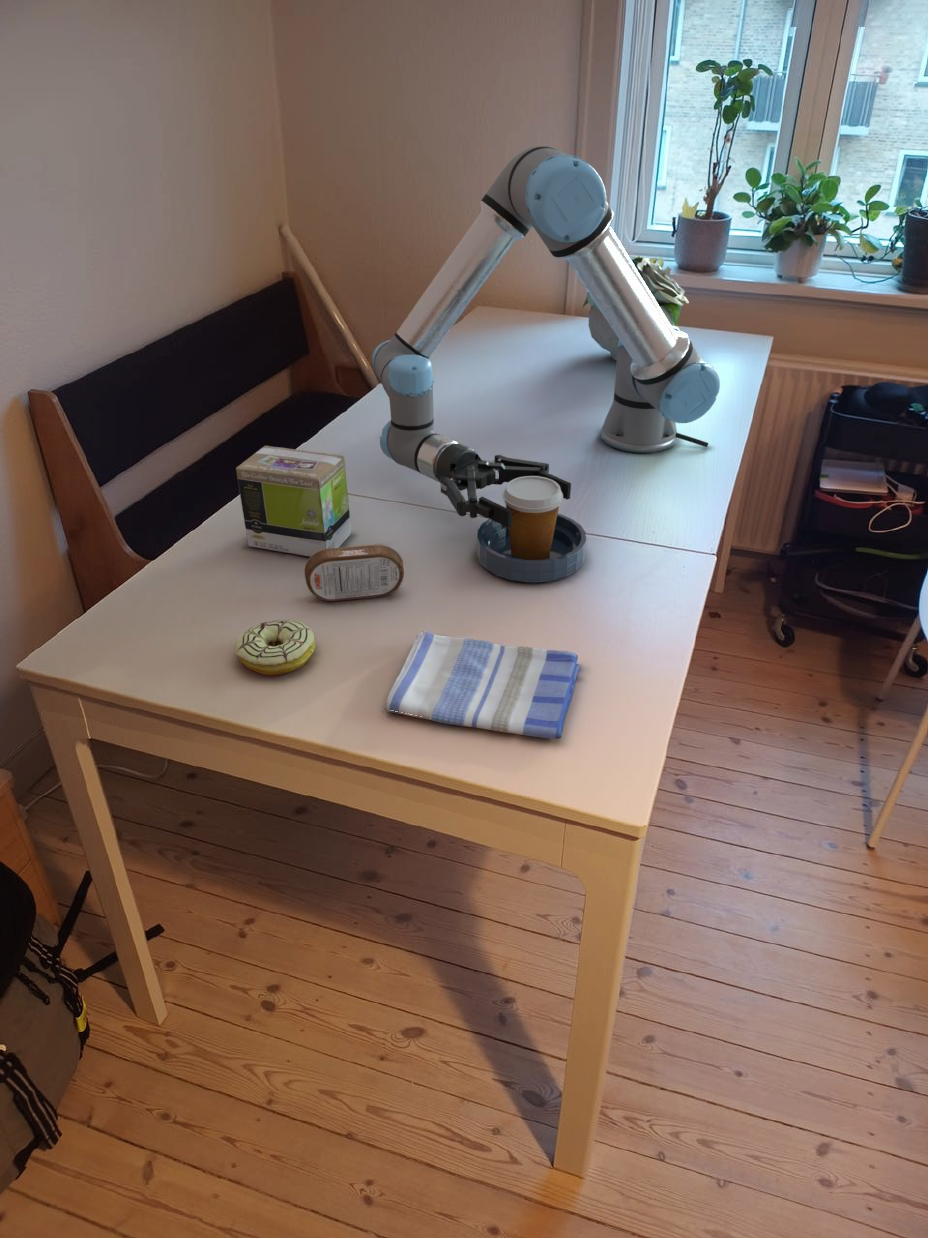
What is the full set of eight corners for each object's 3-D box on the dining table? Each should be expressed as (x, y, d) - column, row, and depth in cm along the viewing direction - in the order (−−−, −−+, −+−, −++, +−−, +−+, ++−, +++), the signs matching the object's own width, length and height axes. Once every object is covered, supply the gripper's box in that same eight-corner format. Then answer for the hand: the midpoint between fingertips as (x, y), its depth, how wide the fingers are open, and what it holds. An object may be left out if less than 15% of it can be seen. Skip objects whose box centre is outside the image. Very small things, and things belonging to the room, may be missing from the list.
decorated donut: (261, 630, 138) (258, 608, 136) (328, 643, 135) (325, 621, 133) (224, 671, 130) (220, 648, 127) (294, 686, 127) (291, 663, 125)
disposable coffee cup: (555, 571, 150) (559, 504, 143) (496, 565, 151) (498, 498, 145) (562, 542, 157) (566, 477, 151) (506, 537, 159) (508, 472, 152)
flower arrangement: (687, 375, 225) (701, 269, 211) (583, 375, 225) (590, 269, 212) (670, 342, 246) (682, 243, 232) (574, 342, 246) (580, 244, 232)
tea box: (353, 533, 161) (346, 454, 153) (327, 562, 154) (318, 479, 145) (275, 520, 165) (264, 442, 157) (246, 547, 158) (233, 466, 149)
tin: (403, 586, 147) (401, 539, 143) (406, 597, 145) (404, 550, 140) (307, 595, 145) (301, 548, 141) (307, 607, 143) (302, 559, 138)
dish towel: (419, 640, 135) (419, 624, 134) (582, 665, 130) (583, 649, 129) (379, 716, 121) (378, 699, 120) (560, 747, 116) (561, 729, 115)
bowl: (581, 531, 162) (582, 510, 159) (587, 586, 147) (589, 563, 145) (478, 530, 162) (478, 508, 160) (475, 584, 148) (475, 561, 145)
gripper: (501, 462, 170) (590, 501, 157) (394, 506, 156) (483, 553, 143) (502, 423, 166) (593, 459, 153) (392, 464, 152) (483, 509, 139)
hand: (540, 505), depth 148 cm, fingers open, 13 cm apart
